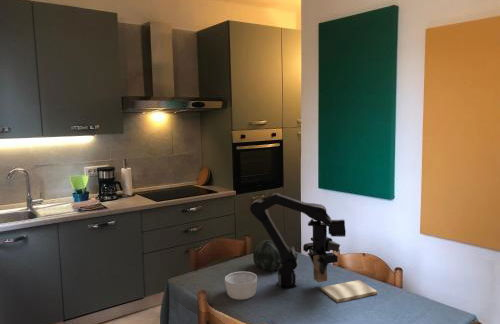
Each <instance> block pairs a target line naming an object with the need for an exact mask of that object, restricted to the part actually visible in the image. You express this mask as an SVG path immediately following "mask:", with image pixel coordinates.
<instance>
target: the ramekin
mask: <svg viewBox="0 0 500 324" xmlns="http://www.w3.org/2000/svg"><path fill="white" fill-rule="evenodd" d="M224 284H225V288H226V293H227V296H229V298H231V299H233V300H241V301H243V300H247V299H250V298H253V297H254V296H255V295H256V292H257V288H258V287H257V284H258V275H257V274H256V273H254V272H251V271H235V272H232V273H228V275H227V274H226V276H224Z"/></svg>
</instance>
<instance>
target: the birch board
mask: <svg viewBox="0 0 500 324" xmlns="http://www.w3.org/2000/svg"><path fill="white" fill-rule="evenodd" d="M321 291H322V292H323V293H324V294H326V295H327V296H329V297H330V298H331V299H333V300H334V301H335V302H337V303H341V302H347V301H351V300H356V299H360V298H365V297H369V296H374V295H378V290H376V289H375V288H373V287H371V286H369V285H368V284H366V283H365V282H363V281H361V280H360V279H357V280H352V281H346V282H342V283H337V284H331V285H326V286H322V287H321Z"/></svg>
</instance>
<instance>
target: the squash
mask: <svg viewBox="0 0 500 324" xmlns="http://www.w3.org/2000/svg"><path fill="white" fill-rule="evenodd" d="M252 254H253V256H252V258H253V259H252V261H253V263H254V264H255V266H256V267H258V268H259V269H262V270H263V271H265V272H266V271H268V270H269V271H270V272H272V271H274V270H278V269H279V266H280V262H281V257H280V253H279V251H278V249H277V248H276V246H275V244H274V243H273V241H272V239H266V240H263V241H261V242H260V243H258V244H257V245H256V246H255V247H254V249H253V252H252Z"/></svg>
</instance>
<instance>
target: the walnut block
mask: <svg viewBox="0 0 500 324" xmlns="http://www.w3.org/2000/svg"><path fill="white" fill-rule="evenodd" d="M318 259H320V255H315V256H313V263H312V266H313V267H312V268H313V280H314V281H316V282H317V283H322V282H323V283H324V282H327V281H328V267H327V268H326V271H325V274H324V275H322V274H321V272H320V268H319V265H318V262H317V260H318Z"/></svg>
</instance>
